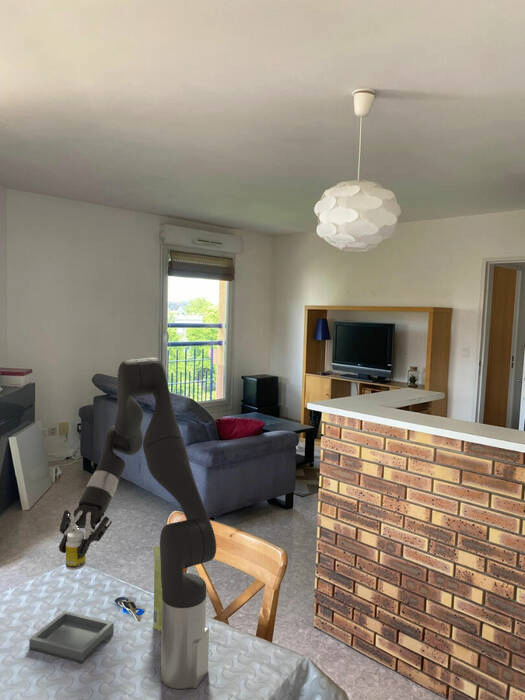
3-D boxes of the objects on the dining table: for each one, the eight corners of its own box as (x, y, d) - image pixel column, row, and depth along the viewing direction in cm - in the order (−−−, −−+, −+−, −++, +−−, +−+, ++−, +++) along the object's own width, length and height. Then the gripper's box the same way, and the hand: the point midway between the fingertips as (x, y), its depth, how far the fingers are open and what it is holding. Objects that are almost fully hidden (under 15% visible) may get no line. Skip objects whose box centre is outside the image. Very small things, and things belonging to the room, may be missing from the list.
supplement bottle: (78, 571, 133) (78, 538, 132) (61, 569, 134) (61, 536, 133) (89, 562, 137) (88, 531, 137) (72, 560, 138) (72, 529, 138)
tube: (175, 618, 133) (177, 543, 132) (177, 630, 128) (178, 552, 127) (152, 621, 132) (153, 544, 131) (153, 633, 127) (154, 554, 126)
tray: (113, 632, 127) (113, 622, 127) (81, 663, 115) (82, 652, 115) (64, 620, 131) (64, 610, 131) (29, 649, 120) (29, 638, 119)
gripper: (71, 481, 143) (39, 543, 133) (116, 488, 139) (88, 552, 128) (83, 494, 149) (54, 554, 138) (127, 501, 144) (101, 563, 134)
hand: (70, 553), depth 133 cm, fingers closed on supplement bottle, 4 cm apart
